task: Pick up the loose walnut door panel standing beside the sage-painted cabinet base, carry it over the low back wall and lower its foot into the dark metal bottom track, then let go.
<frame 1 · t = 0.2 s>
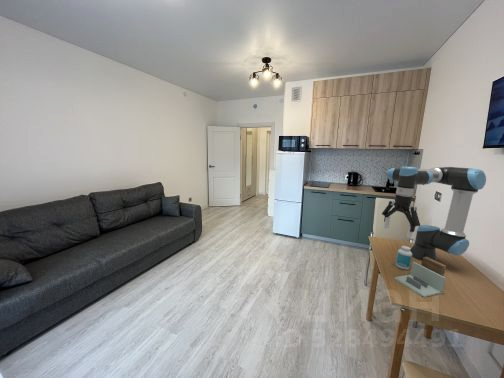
hand: (397, 232, 118), 28 cm above the table, fingers open, 13 cm apart
door panel: (429, 280, 122), on the table
cabinet base: (417, 285, 116), on the table
pill bottle: (402, 267, 135), on the table
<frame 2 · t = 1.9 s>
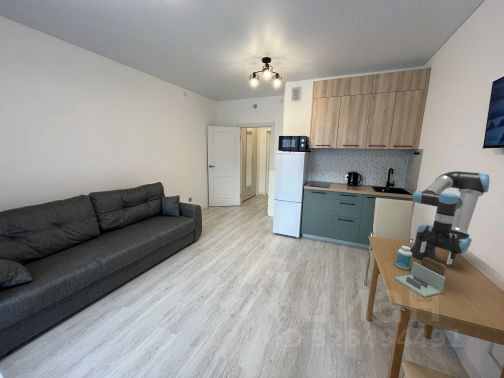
hand: (434, 257, 119), 14 cm above the table, fingers open, 13 cm apart
nothing on the table moved.
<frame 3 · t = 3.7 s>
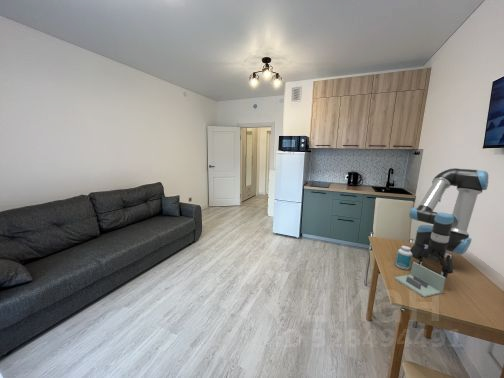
hand: (430, 276, 121), 2 cm above the table, fingers closed on door panel, 10 cm apart
door panel: (429, 280, 122), on the table, touching gripper
everything else where it was.
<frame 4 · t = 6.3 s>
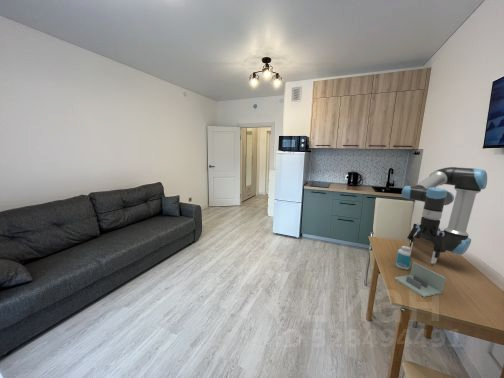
hand: (422, 257, 113), 17 cm above the table, fingers closed on door panel, 10 cm apart
door panel: (421, 261, 113), point 15 cm above the table, touching gripper
everything else where it was.
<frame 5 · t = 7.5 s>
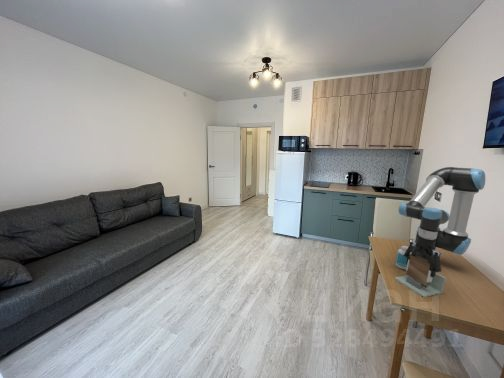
hand: (418, 275, 115), 6 cm above the table, fingers closed on door panel, 10 cm apart
door panel: (417, 279, 115), point 4 cm above the table, touching gripper
everything else where it was.
when the fingers open (5 cm above the table, at t = 8.7 s): door panel drops 1 cm, resting on cabinet base.
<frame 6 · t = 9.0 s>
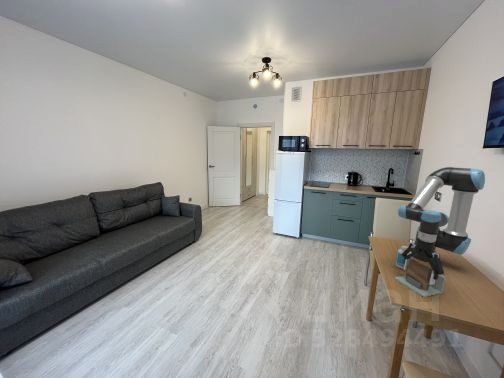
hand: (418, 276, 115), 6 cm above the table, fingers open, 13 cm apart
door panel: (416, 284, 116), point 1 cm above the table, touching cabinet base
everything else where it was.
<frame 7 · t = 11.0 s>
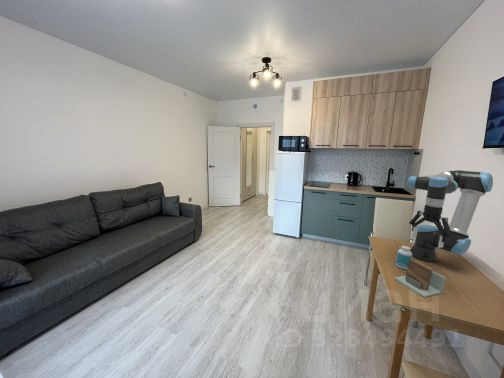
hand: (426, 241, 119), 23 cm above the table, fingers open, 13 cm apart
nothing on the table moved.
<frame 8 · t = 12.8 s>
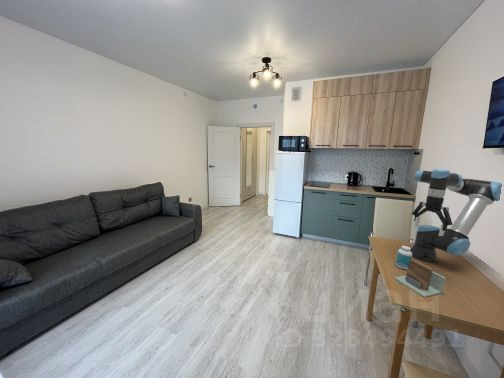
hand: (427, 231, 125), 27 cm above the table, fingers open, 13 cm apart
nothing on the table moved.
at the end: door panel 0.0 cm from the target spot on the cabinet base, point 1.0 cm above the cabinet base's base; door panel tilted 0°; the gripper is holding nothing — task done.
